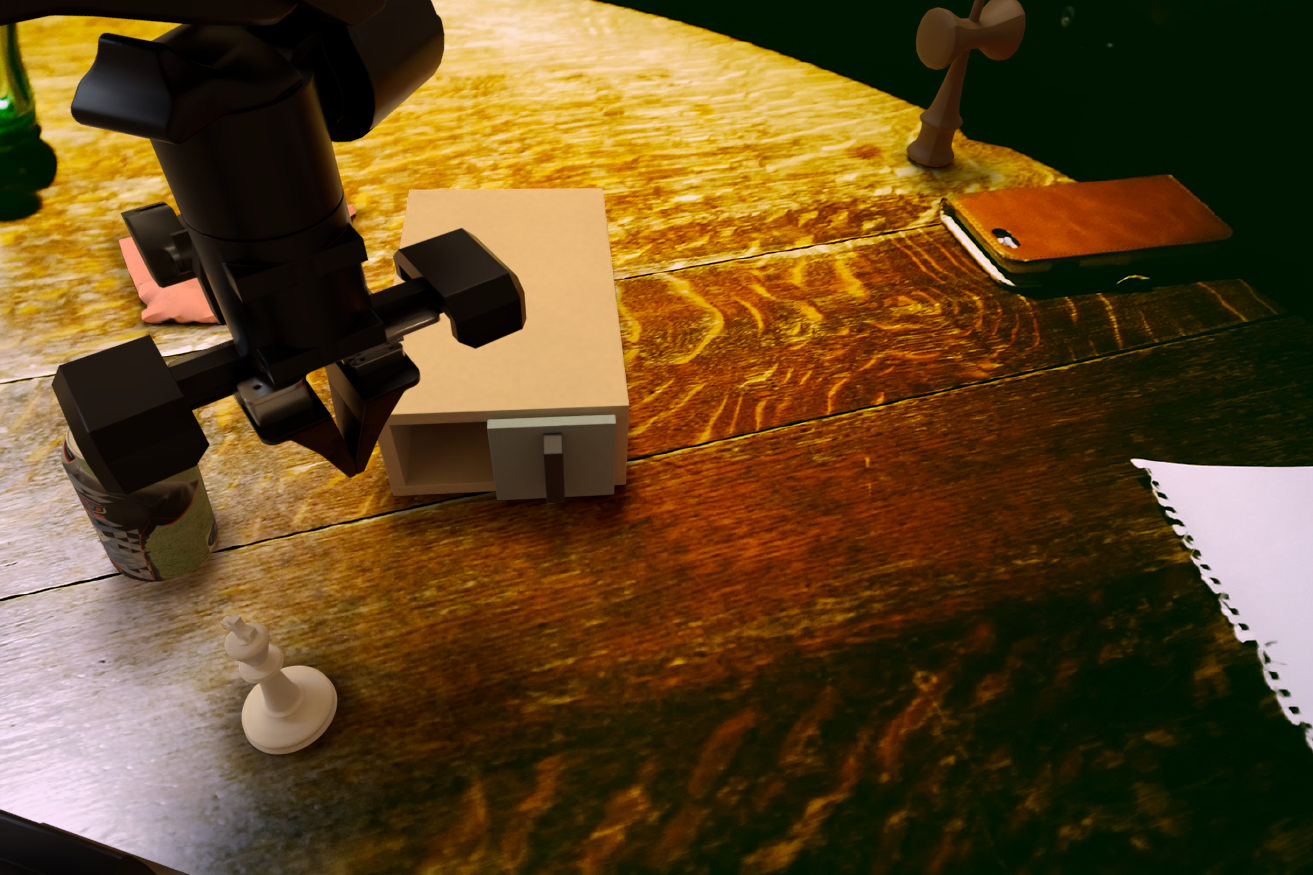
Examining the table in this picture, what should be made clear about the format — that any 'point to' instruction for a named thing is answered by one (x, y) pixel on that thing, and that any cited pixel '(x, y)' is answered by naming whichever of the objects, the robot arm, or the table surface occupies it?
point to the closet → (511, 337)
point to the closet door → (553, 457)
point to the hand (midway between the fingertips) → (352, 469)
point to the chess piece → (278, 692)
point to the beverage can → (147, 520)
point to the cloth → (169, 291)
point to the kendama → (959, 66)
